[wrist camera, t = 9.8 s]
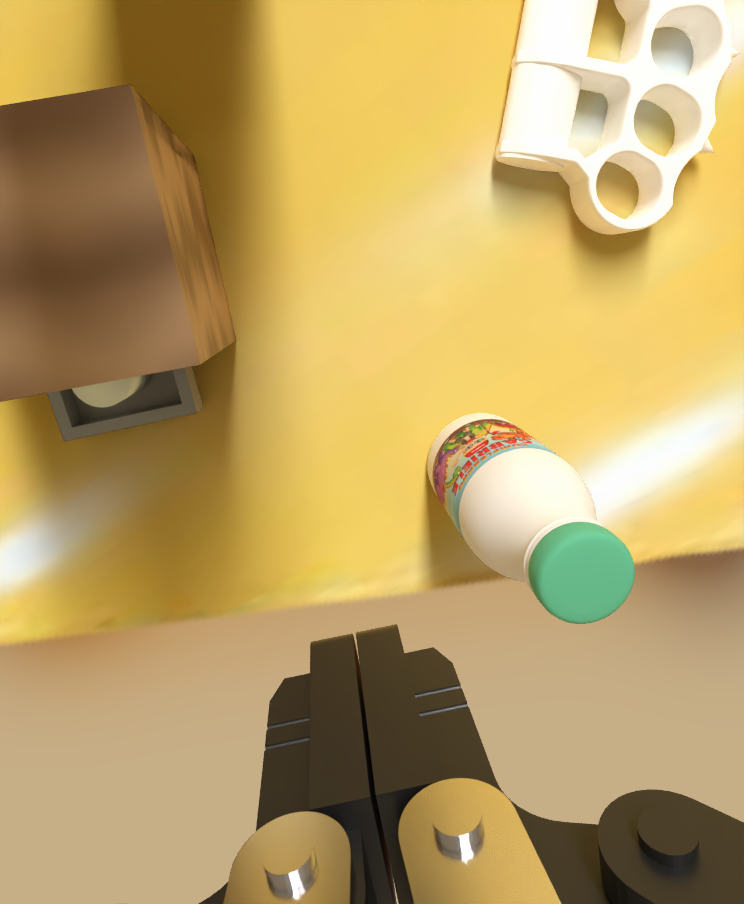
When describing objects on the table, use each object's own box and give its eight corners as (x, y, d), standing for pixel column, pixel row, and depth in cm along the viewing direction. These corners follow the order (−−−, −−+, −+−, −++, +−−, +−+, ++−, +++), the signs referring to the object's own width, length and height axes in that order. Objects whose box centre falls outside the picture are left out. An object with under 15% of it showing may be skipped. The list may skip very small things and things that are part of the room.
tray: (19, 258, 41) (-1, 256, 38) (155, 231, 41) (144, 227, 38) (79, 432, 44) (64, 441, 41) (204, 405, 44) (197, 412, 42)
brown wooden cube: (-11, 189, 39) (-184, 136, 26) (193, 154, 40) (130, 84, 26) (48, 375, 42) (-78, 416, 29) (236, 340, 43) (200, 364, 29)
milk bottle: (546, 454, 47) (706, 568, 28) (477, 528, 48) (586, 687, 29) (473, 389, 45) (591, 464, 26) (404, 468, 47) (468, 595, 27)
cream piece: (89, 347, 42) (60, 355, 37) (142, 336, 42) (119, 342, 37) (106, 399, 43) (79, 412, 38) (157, 388, 43) (137, 400, 38)
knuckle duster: (535, -93, 38) (749, -40, 40) (480, 213, 43) (676, 247, 45) (555, -128, 35) (788, -69, 37) (494, 207, 40) (704, 244, 41)
